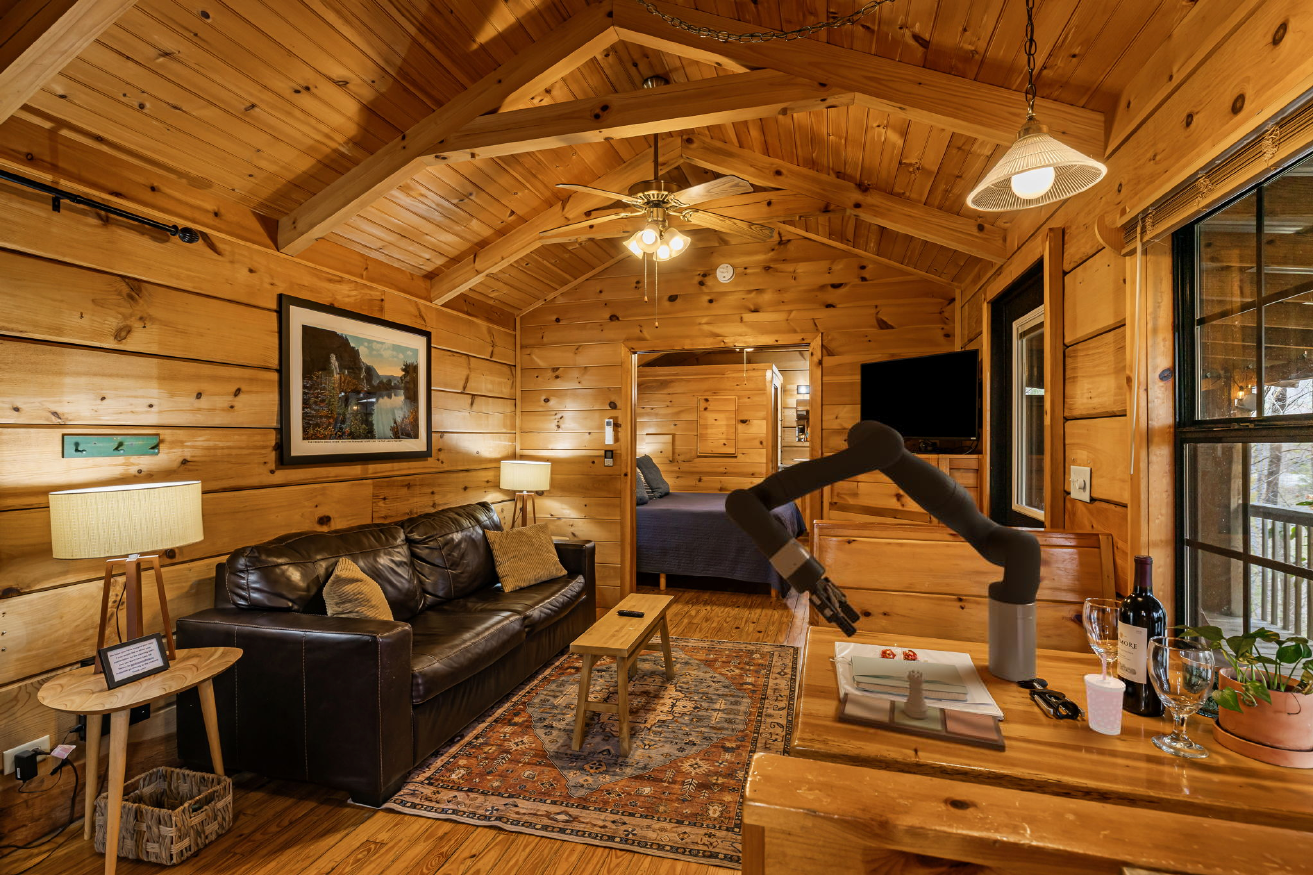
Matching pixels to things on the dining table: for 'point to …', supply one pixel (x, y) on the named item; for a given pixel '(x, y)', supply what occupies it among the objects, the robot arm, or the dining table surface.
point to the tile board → (923, 721)
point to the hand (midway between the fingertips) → (855, 627)
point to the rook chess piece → (916, 697)
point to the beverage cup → (1104, 702)
